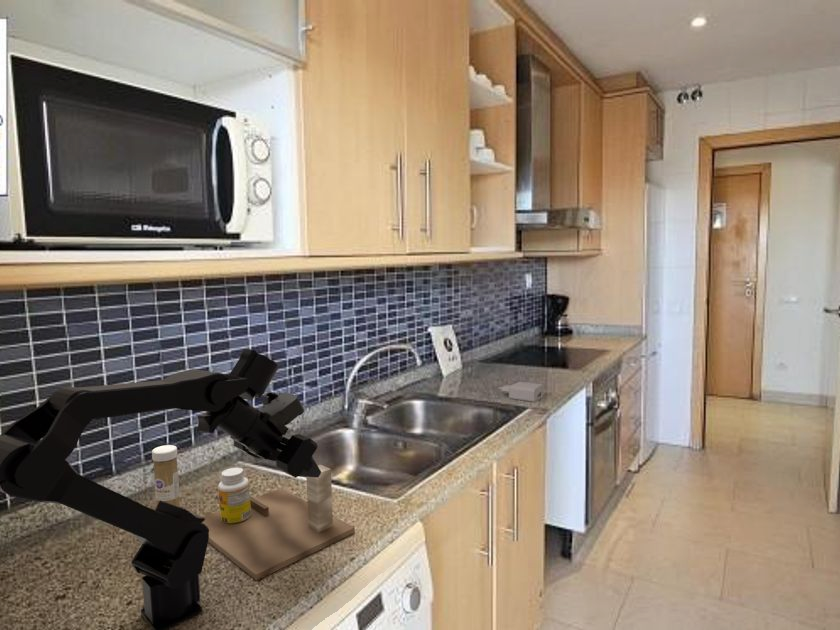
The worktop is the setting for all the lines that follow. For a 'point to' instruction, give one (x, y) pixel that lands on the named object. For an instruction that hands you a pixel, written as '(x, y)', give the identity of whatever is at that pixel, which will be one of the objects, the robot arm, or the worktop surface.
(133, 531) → the robot arm
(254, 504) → the square wooden board
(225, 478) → the supplement bottle
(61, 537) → the worktop surface
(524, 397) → the charger
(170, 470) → the sprinkles bottle
